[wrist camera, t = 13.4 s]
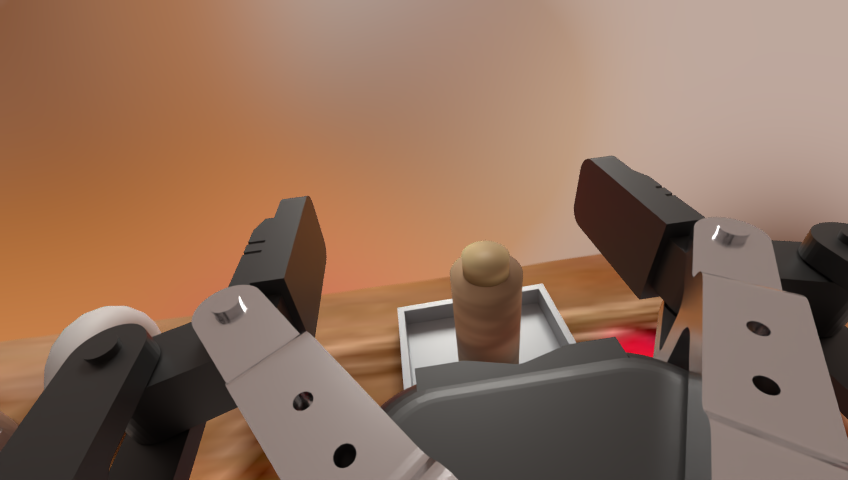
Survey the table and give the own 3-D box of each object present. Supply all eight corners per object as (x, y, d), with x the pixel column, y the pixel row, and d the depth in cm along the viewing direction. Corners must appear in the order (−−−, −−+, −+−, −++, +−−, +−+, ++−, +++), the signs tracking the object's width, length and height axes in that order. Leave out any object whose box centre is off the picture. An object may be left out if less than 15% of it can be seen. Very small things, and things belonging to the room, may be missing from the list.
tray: (413, 465, 27) (408, 448, 25) (401, 325, 38) (397, 307, 36) (609, 430, 27) (615, 411, 26) (540, 301, 38) (542, 283, 36)
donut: (155, 356, 38) (95, 284, 32) (189, 352, 38) (134, 278, 32) (91, 459, 30) (-6, 386, 24) (133, 453, 30) (47, 379, 24)
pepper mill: (465, 397, 30) (455, 284, 23) (454, 348, 34) (442, 240, 27) (527, 386, 30) (534, 271, 23) (508, 338, 34) (510, 228, 27)
